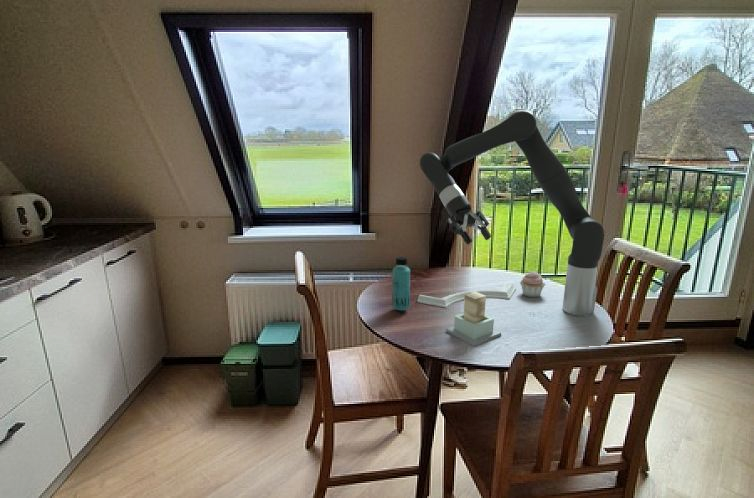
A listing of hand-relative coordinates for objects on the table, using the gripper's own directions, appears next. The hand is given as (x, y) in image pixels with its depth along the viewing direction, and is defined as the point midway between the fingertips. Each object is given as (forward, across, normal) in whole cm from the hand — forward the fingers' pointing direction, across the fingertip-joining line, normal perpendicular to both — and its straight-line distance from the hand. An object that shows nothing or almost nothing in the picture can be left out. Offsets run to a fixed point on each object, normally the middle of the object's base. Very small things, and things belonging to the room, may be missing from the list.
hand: (479, 240), depth 132 cm
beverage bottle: (+4, -16, +34) cm, 38 cm away
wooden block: (+23, -8, +15) cm, 29 cm away
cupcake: (+18, +34, +23) cm, 44 cm away
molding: (+8, +13, +32) cm, 36 cm away
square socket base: (+24, -8, +15) cm, 30 cm away
